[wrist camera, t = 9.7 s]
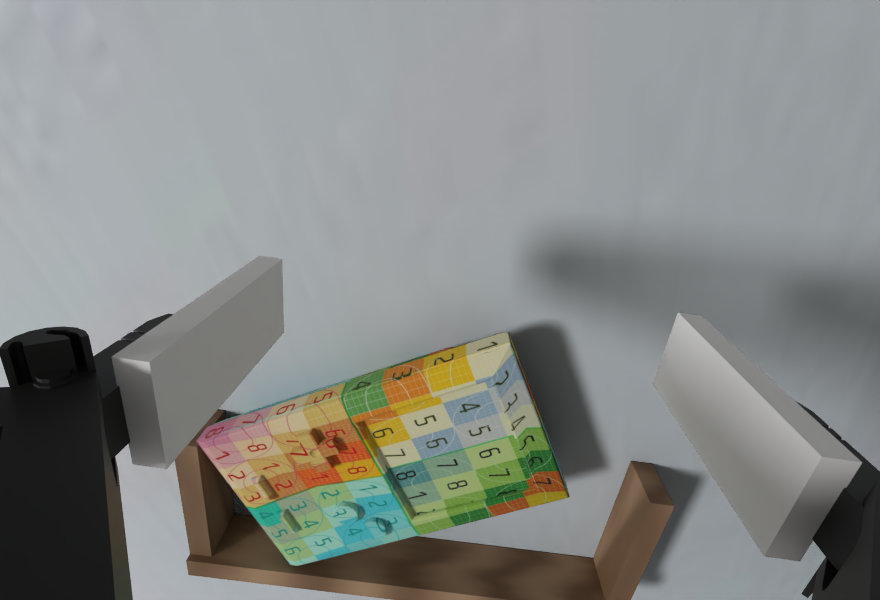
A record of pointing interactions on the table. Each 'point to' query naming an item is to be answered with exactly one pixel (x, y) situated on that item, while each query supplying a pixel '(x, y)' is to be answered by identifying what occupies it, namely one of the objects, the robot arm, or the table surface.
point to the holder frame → (423, 550)
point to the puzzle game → (391, 453)
